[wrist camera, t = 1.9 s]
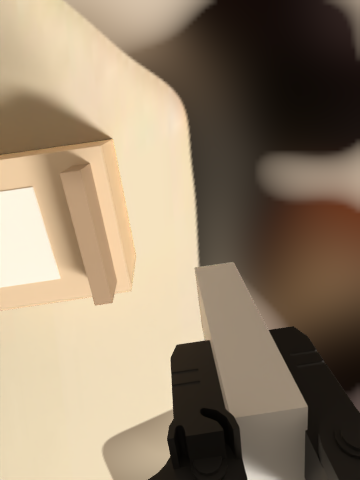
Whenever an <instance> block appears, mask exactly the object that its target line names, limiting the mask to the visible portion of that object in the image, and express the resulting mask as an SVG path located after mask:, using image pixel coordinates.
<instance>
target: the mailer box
mask: <svg viewBox="0 0 360 480" xmlns="http://www.w3.org/2000/svg"><path fill="white" fill-rule="evenodd" d="M99 145H102V149H103V153H104V158H105V163H106V167H107V172H108V177H109V182H110V186H111V191H112V196H113V201H114V205H115V210H116V215H117V219H118V224H119V229H120V234H121V238H122V243H123V248H124V253H125V257H126V262H127V267H128V272H129V276H130V281H131V286H132V283H133V275H134V268H135V261H136V253H135V248H134V243H133V238H132V233H131V228H130V223H129V218H128V213H127V208H126V203H125V197H124V192H123V187H122V182H121V177H120V172H119V167H118V162H117V157H116V152H115V147H114V142H113V139H109V140H102V141H95V142H88V143H81V144H74V145H67V146H60V147H53V148H45V149H38V150H31V151H24V152H17V153H10V154H3V155H0V159H6V158H14V157H21V156H28V155H35V154H42V153H49V152H56V151H63V150H70V149H77V148H84V147H92V146H99Z"/></svg>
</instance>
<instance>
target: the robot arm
mask: <svg viewBox="0 0 360 480" xmlns="http://www.w3.org/2000/svg"><path fill="white" fill-rule="evenodd" d="M195 274H196V282H197V290H198V298H199V306H200V314H201V322H202V328H203V333H204V338H205V341H200V342H193V343H186V344H179V345H177V346H176V348H175V350H174V352H173V354H172V356H171V374H172V395H173V414H174V419H173V421H172V423H171V424H170V426H169V431H168V437H167V441H168V446H169V450H170V455H171V456H170V458H169V460H168V461H167V463H166V465H165V466H164V467H163V468H162V469H161V470H160V471H159V472H158V473H157V474H156V475H154V476H153V477H151V478H150V479H148V480H360V413H359V411H358V410H357V409H356V407H355V406H354V404H353V403H352V401H351V400H350V399H349V397H348V395H347V394H346V393H345V391H344V390H343V388H342V387H341V385H340V384H339V382H338V381H337V379H336V378H335V376H334V375H333V373H332V372H331V371H330V369H329V367H328V366H327V364H325V363H324V360H323V359H322V357H321V356H320V354H319V353H318V352H317V350H316V348H315V347H314V345H313V344H312V342H311V341H310V339H309V338H308V337H307V336H306V335H305V334H303V333H302V332H300V331H299V330H298V329H296V328H294V327H286V328H279V329H273V330H268V328H267V326H266V324H265V323H264V320H263V318H262V317H261V315H260V313H259V311H258V309H257V307H256V305H255V303H254V301H253V299H252V297H251V295H250V293H249V291H248V289H247V287H246V285H245V284H244V282H243V280H242V278H241V276H240V274H239V272H238V270H237V268H236V267H235V264H234V262H230V263H224V264H216V265H210V266H203V267H196V268H195Z"/></svg>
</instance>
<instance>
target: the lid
mask: <svg viewBox="0 0 360 480" xmlns="http://www.w3.org/2000/svg"><path fill="white" fill-rule="evenodd" d="M131 290H132V286H131V281H130V276H129V272H128V267H127V262H126V257H125V253H124V248H123V243H122V238H121V234H120V229H119V224H118V219H117V215H116V210H115V205H114V201H113V196H112V191H111V186H110V182H109V177H108V172H107V167H106V163H105V158H104V153H103V149H102V145H99V146H92V147H84V148H77V149H70V150H63V151H56V152H49V153H42V154H35V155H28V156H21V157H14V158H6V159H0V311H3V310H9V309H16V308H23V307H29V306H36V305H43V304H49V303H56V302H63V301H69V300H76V299H83V298H89V297H93V300H94V304H95V305H101V304H108V303H112V302H113V298H114V294H116V293H122V292H129V291H131Z"/></svg>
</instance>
